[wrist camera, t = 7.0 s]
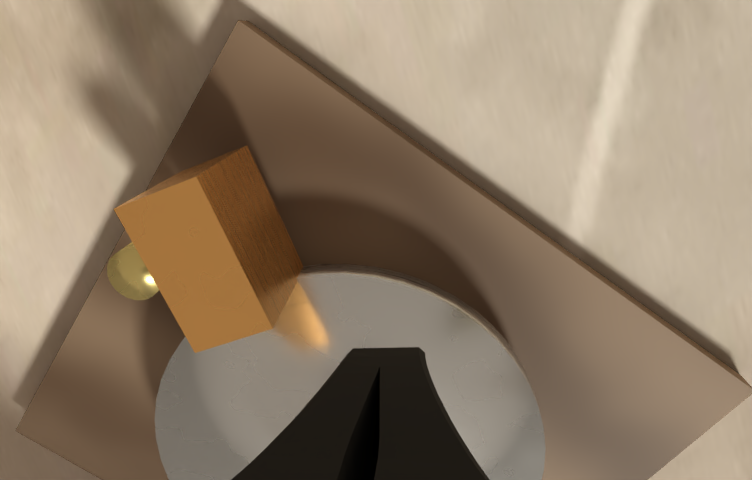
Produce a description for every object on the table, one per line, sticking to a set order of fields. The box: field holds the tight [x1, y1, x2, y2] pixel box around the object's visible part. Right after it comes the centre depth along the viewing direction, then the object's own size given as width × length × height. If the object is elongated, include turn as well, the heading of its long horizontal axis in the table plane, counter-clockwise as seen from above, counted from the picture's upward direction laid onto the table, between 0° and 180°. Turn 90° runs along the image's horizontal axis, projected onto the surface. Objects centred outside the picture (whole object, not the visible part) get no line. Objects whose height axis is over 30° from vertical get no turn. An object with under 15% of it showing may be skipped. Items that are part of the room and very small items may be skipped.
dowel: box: [107, 242, 159, 300], centre depth 18 cm, size 2×2×4 cm
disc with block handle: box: [114, 145, 546, 480], centre depth 18 cm, size 18×14×4 cm
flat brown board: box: [16, 20, 752, 480], centre depth 22 cm, size 20×22×2 cm
